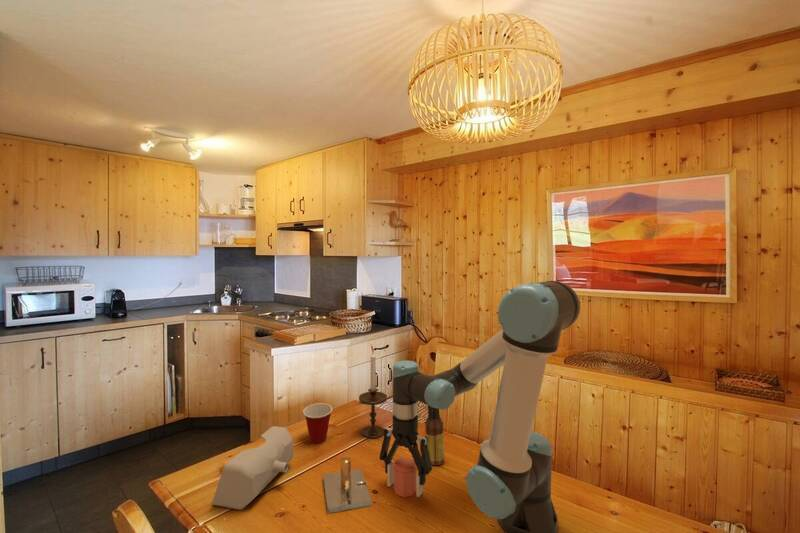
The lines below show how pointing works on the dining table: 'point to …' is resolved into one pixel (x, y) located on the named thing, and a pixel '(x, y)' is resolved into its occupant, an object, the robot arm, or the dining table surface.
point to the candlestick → (372, 404)
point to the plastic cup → (317, 421)
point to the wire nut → (405, 477)
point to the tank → (254, 469)
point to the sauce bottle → (435, 436)
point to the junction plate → (340, 495)
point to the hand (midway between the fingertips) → (404, 489)
